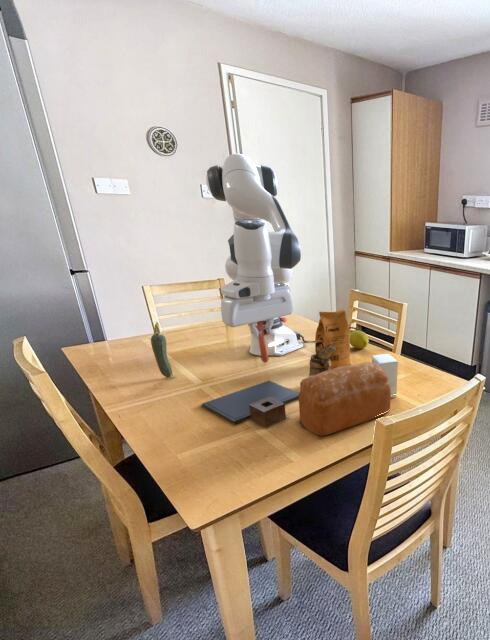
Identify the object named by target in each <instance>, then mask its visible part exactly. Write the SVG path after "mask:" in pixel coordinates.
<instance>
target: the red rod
mask: <svg viewBox="0 0 490 640" xmlns="http://www.w3.org/2000/svg"><path fill="white" fill-rule="evenodd" d="M256 328H257V330H260V331H261V335H262V336H261V337H258V340H259V346H260V352H261V356H260V357H261V362H262V363H264V364H266V363H268V362H269V356H268V353H267V347H266V341H265V334H264V328H263V322H262V321H259V322H257V326H256Z"/></svg>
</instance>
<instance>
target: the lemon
mask: <svg viewBox="0 0 490 640" xmlns="http://www.w3.org/2000/svg"><path fill="white" fill-rule="evenodd" d="M349 335H350V346H351V347H353V348H354V349H357V350H364V349H365V348H367V346H369V341H370V339H369V336H368V334H367V333H366V332H364V331H362V330H358V331H357V330H353V331H351V332H349ZM364 347H365V348H364Z"/></svg>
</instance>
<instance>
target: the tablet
mask: <svg viewBox="0 0 490 640" xmlns="http://www.w3.org/2000/svg"><path fill="white" fill-rule="evenodd" d="M298 394H299V392H297V391H294V390H292V389H289V388H287V387H286V386H283V385H282V384H281V385H280V384H279V383H276V382H274V381H271V380H266V381H263V382H260V383H256V384H255V385H251V386H249V387H246V388H243V389H240V390H237V391H234V392H231V393H228V394H226V395H223V396H219V397H217V398H214V399H211V400H207V401H205V402H203V403H201V406H202V407H203V408H204V409H206V410H208V411H210V412H212V413H213V414H215V415H217V416H219V417H220V418H222V419H224V420H226V421H228V422H229V423H231V424H233V425H237V424H239V423H242V422H244V421H247V420H250V419H251V416H250V408H249V404H252V403H255V402H257V401H260V400H262V399H265V398H268V397H271V398H274V399H276V400H278V401H280V402H282V403H284V404H285V405H286V404H288V403H290V402H293V401H296V400H299V396H298Z"/></svg>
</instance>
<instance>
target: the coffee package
mask: <svg viewBox="0 0 490 640" xmlns="http://www.w3.org/2000/svg"><path fill="white" fill-rule="evenodd" d="M318 315H319V321H318V324H317V327H316V332H315V337H314V341H315V342H314V345H315V346H314V350H315V354H318V353H319V351H320V350H321V349H322V348H324V347H326V346H328V345H332V346H335V347H336V351H335V353H334V355H333V356H332V357H331V358H330V362H331V366H330V368H331V370H332V369H334V368H337V367H342V366H348V365H351V344H350V335H349V334H350V329H349V327H350V325H349V322H348V319H347V313H346V309H345V308H342V309H339V310H336V311H319V314H318Z"/></svg>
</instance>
